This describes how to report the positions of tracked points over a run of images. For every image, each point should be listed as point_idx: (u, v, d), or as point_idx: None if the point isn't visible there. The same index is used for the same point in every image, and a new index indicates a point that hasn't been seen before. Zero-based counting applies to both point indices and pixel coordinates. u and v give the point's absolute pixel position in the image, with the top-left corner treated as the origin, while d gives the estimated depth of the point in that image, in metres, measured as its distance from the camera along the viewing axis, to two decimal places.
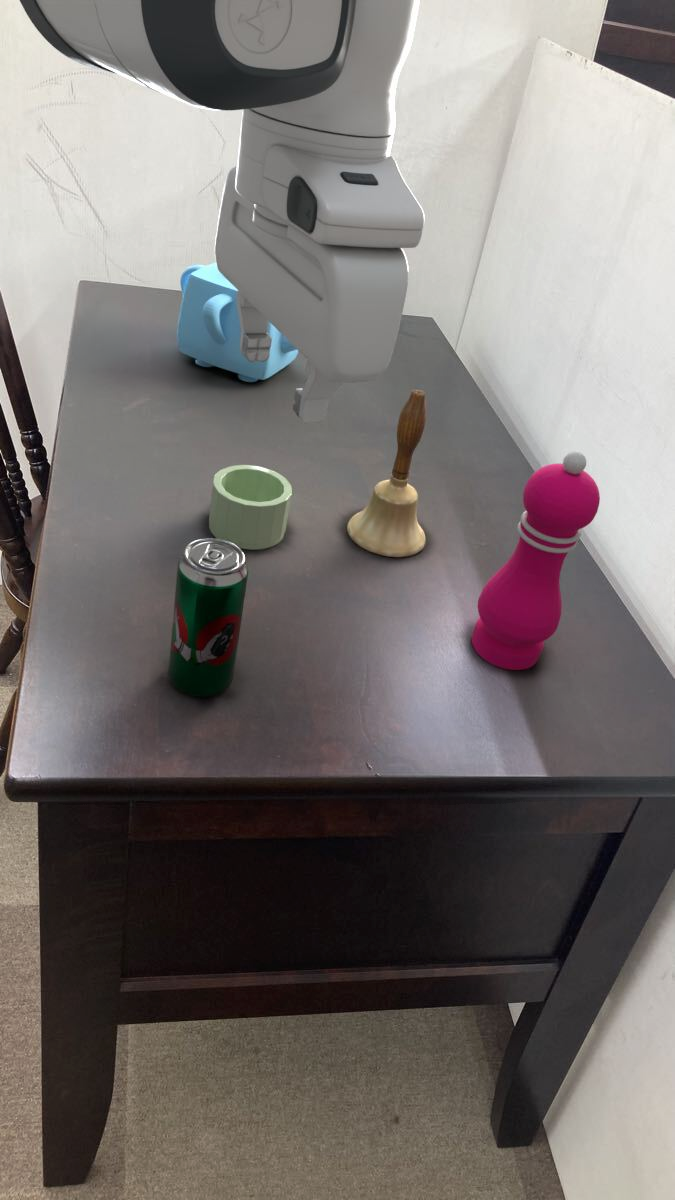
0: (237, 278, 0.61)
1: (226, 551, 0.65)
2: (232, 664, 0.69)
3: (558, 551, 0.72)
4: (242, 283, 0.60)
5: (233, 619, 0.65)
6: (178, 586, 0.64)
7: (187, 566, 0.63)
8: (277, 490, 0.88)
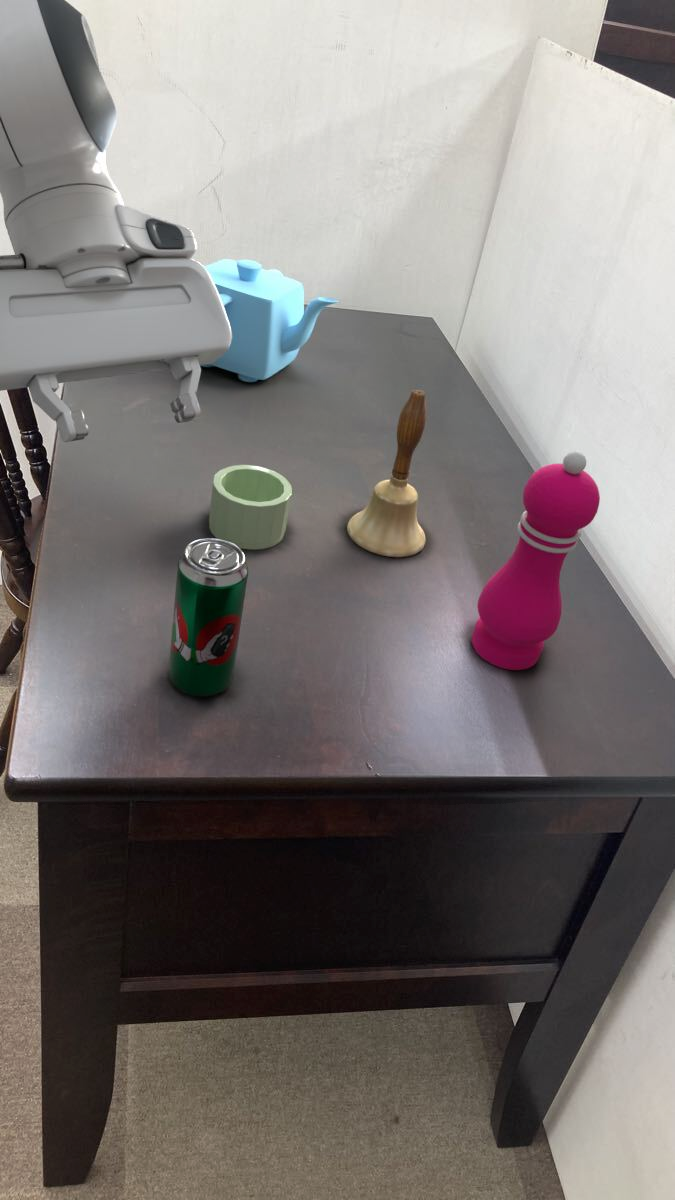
0: (56, 355, 0.63)
1: (226, 551, 0.65)
2: (232, 664, 0.69)
3: (558, 551, 0.72)
4: (68, 354, 0.63)
5: (233, 619, 0.65)
6: (178, 586, 0.64)
7: (187, 566, 0.63)
8: (277, 490, 0.88)
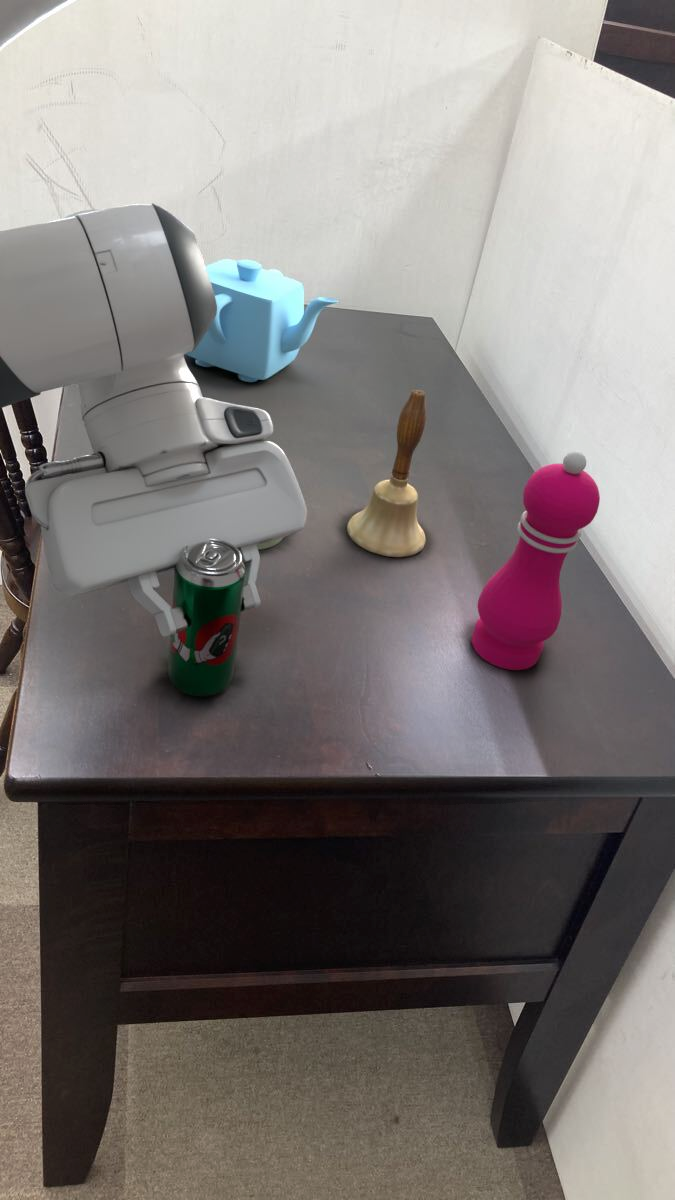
0: (138, 560, 0.62)
1: (223, 551, 0.64)
2: (231, 663, 0.68)
3: (558, 551, 0.72)
4: (149, 557, 0.62)
5: (231, 619, 0.65)
6: (175, 587, 0.64)
7: (184, 567, 0.62)
8: None
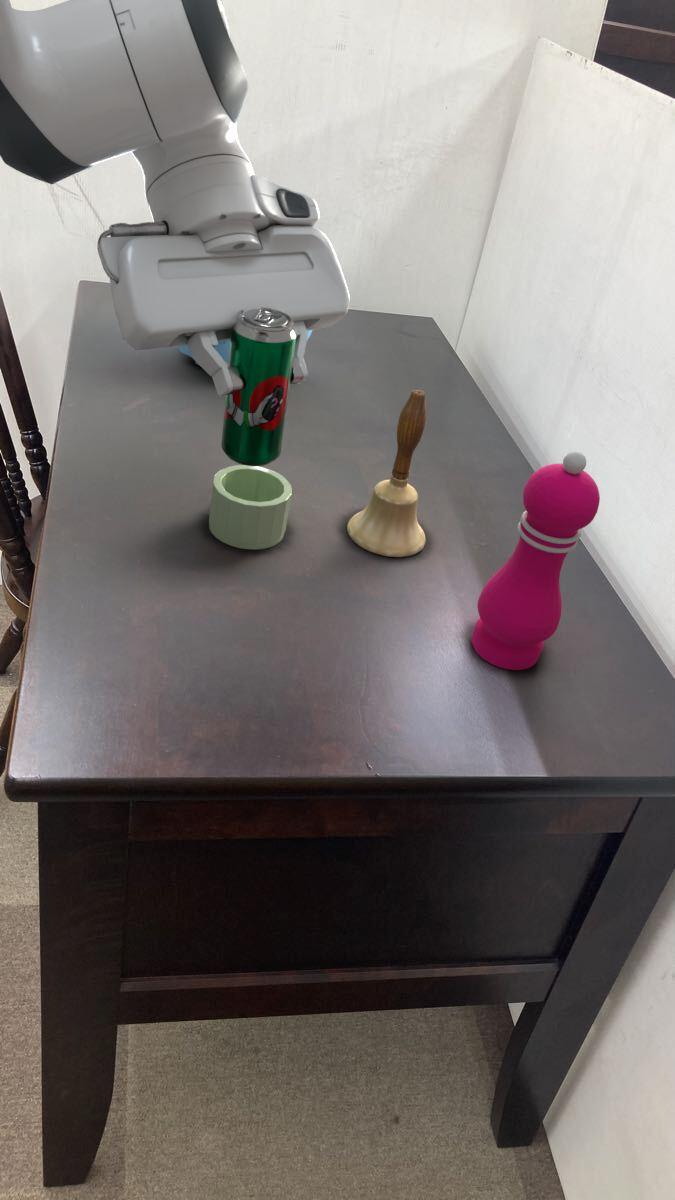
0: (199, 315, 0.67)
1: (275, 317, 0.70)
2: (281, 434, 0.74)
3: (558, 551, 0.72)
4: (210, 314, 0.67)
5: (282, 382, 0.70)
6: (232, 348, 0.69)
7: (241, 325, 0.68)
8: (277, 490, 0.88)
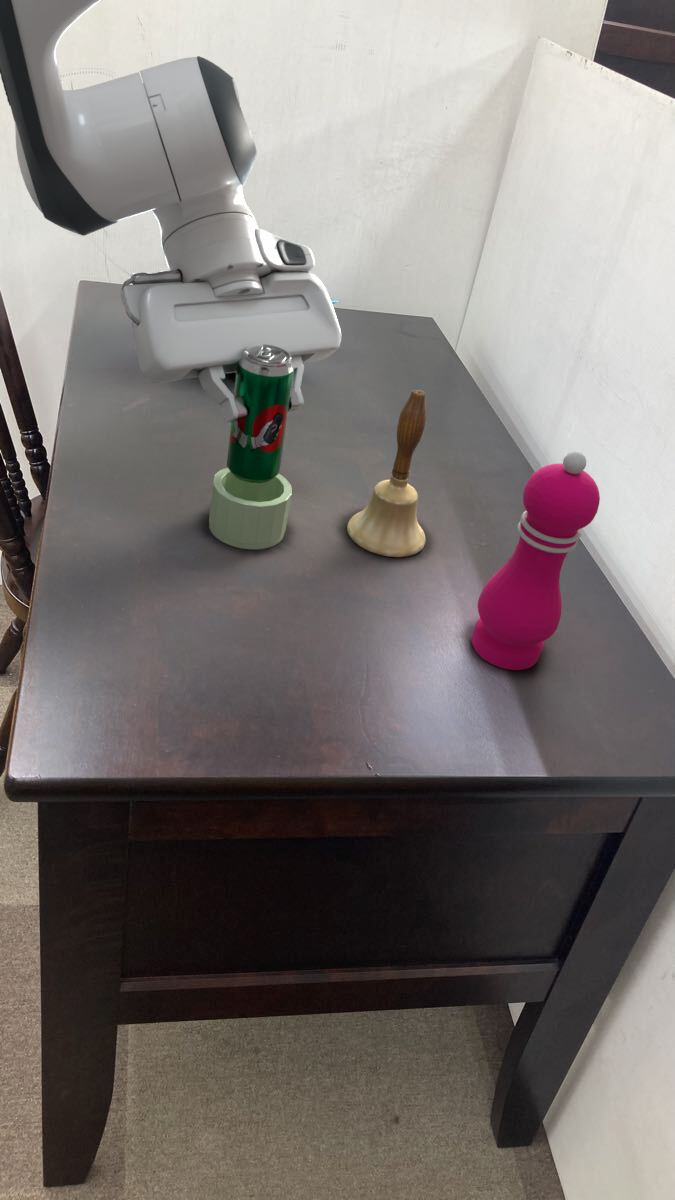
0: (209, 353, 0.77)
1: (276, 353, 0.79)
2: (279, 455, 0.83)
3: (558, 551, 0.72)
4: (218, 351, 0.77)
5: (281, 410, 0.80)
6: (237, 380, 0.79)
7: (246, 361, 0.78)
8: (277, 490, 0.88)
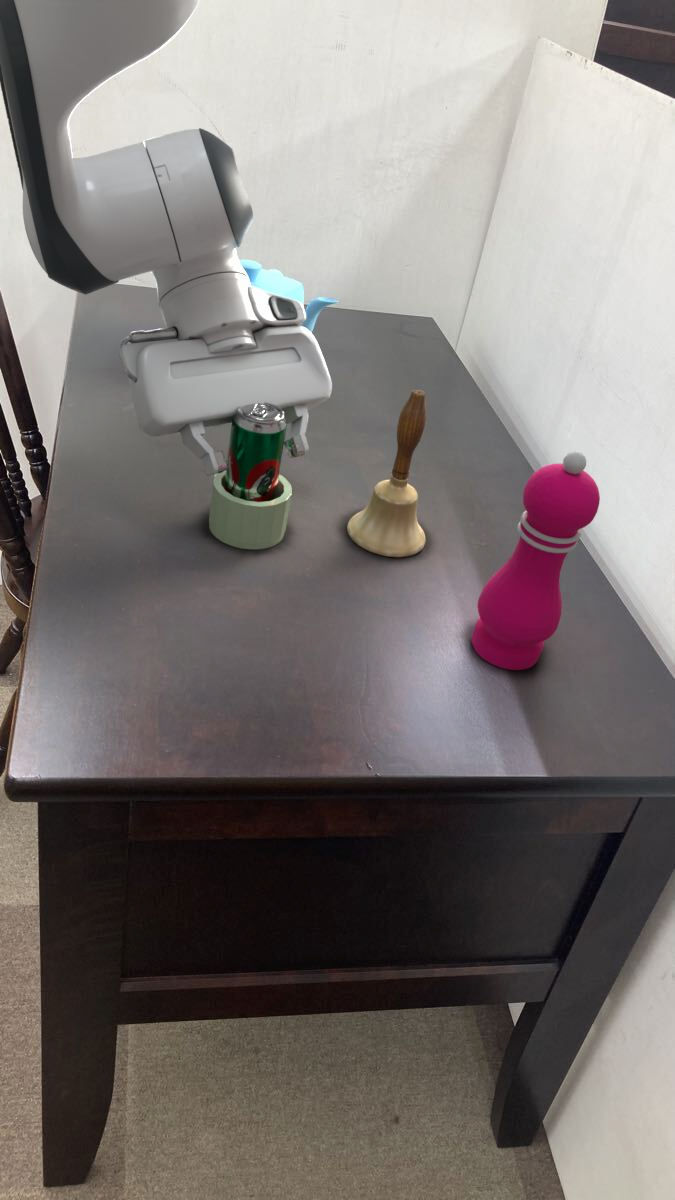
0: (204, 408, 0.80)
1: (269, 410, 0.83)
2: None
3: (558, 551, 0.72)
4: (213, 406, 0.80)
5: (274, 464, 0.83)
6: (232, 436, 0.82)
7: (240, 418, 0.81)
8: (277, 490, 0.88)
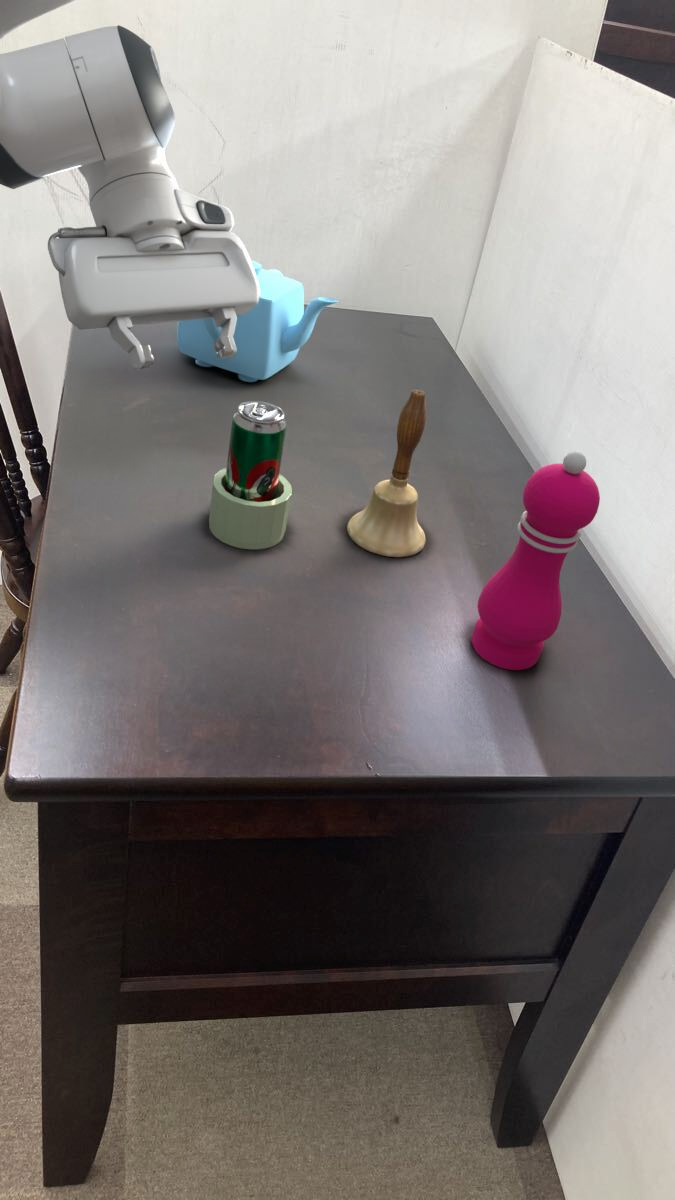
0: (130, 302, 0.83)
1: (269, 410, 0.83)
2: None
3: (558, 551, 0.72)
4: (139, 301, 0.84)
5: (274, 464, 0.83)
6: (232, 436, 0.82)
7: (240, 418, 0.81)
8: (277, 490, 0.88)
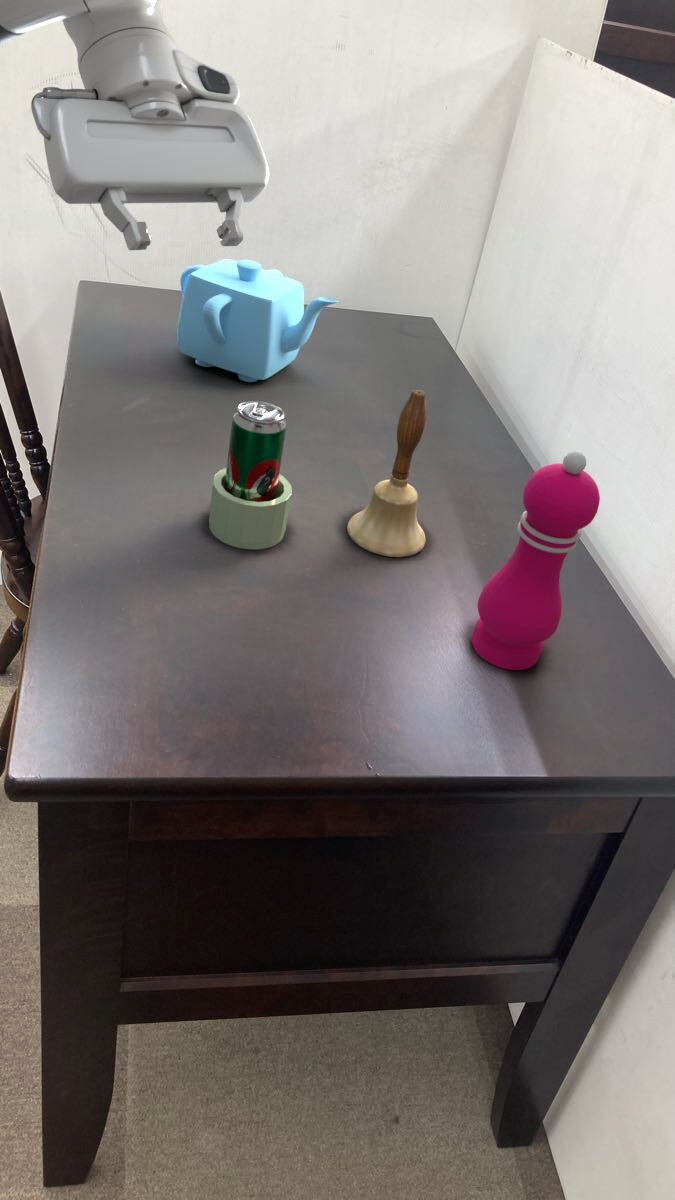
0: (124, 172, 0.74)
1: (269, 410, 0.83)
2: None
3: (558, 551, 0.72)
4: (134, 172, 0.75)
5: (274, 464, 0.83)
6: (232, 436, 0.82)
7: (240, 418, 0.81)
8: (277, 490, 0.88)
